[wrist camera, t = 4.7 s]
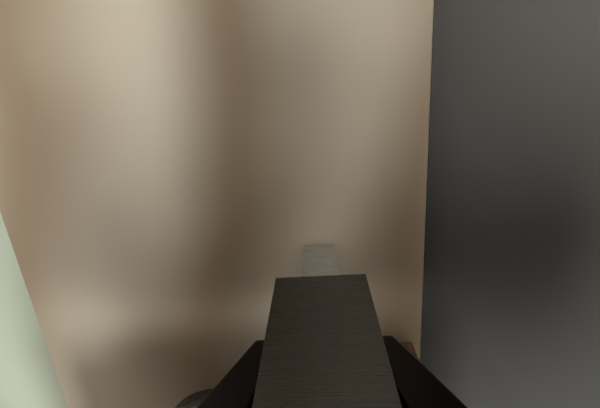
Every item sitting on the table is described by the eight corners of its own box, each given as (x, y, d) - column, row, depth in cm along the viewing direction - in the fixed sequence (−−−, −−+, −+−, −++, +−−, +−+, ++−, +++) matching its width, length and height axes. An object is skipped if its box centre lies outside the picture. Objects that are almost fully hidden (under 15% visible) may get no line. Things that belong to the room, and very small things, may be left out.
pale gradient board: (430, -95, 10) (652, -415, 3) (409, 516, 17) (468, 774, 11) (-336, -21, 11) (-1256, -160, 4) (-44, 523, 18) (-233, 762, 12)
